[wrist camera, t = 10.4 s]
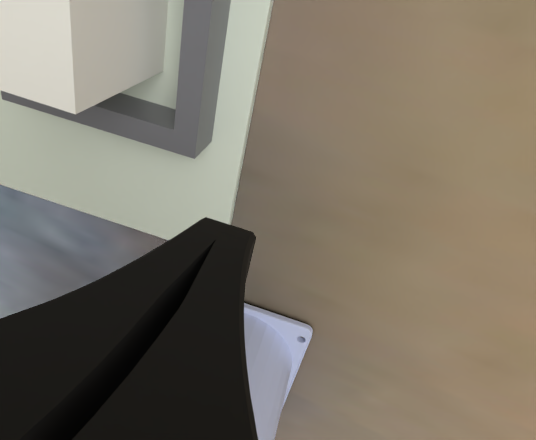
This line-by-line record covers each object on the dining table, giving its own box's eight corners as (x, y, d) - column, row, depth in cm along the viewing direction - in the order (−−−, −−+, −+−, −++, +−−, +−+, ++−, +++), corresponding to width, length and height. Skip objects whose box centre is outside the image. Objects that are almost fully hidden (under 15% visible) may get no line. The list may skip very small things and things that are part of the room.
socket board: (225, 252, 23) (209, 281, 21) (0, 178, 24) (-37, 198, 22) (294, -111, 14) (277, -123, 12) (-74, -200, 15) (-148, -225, 13)
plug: (163, 70, 18) (75, 114, 13) (78, 45, 18) (-39, 77, 13) (172, -56, 15) (65, -63, 10) (72, -84, 15) (-78, -103, 10)
